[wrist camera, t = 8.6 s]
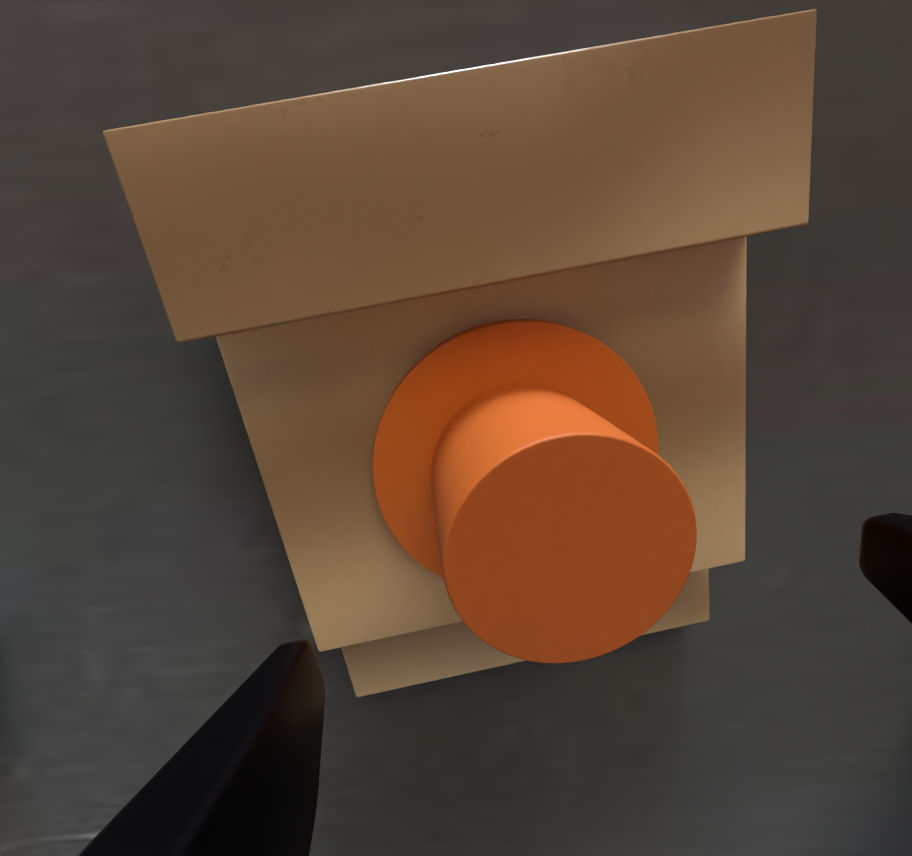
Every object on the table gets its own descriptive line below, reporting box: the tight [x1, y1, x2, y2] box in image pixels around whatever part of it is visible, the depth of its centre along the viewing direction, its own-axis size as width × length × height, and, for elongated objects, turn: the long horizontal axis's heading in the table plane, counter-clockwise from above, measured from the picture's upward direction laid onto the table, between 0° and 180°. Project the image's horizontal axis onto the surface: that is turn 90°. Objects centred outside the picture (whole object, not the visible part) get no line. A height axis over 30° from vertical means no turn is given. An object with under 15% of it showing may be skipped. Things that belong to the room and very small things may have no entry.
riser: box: [103, 9, 817, 697], centre depth 14 cm, size 18×14×6 cm
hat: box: [372, 319, 697, 663], centre depth 11 cm, size 8×8×5 cm
